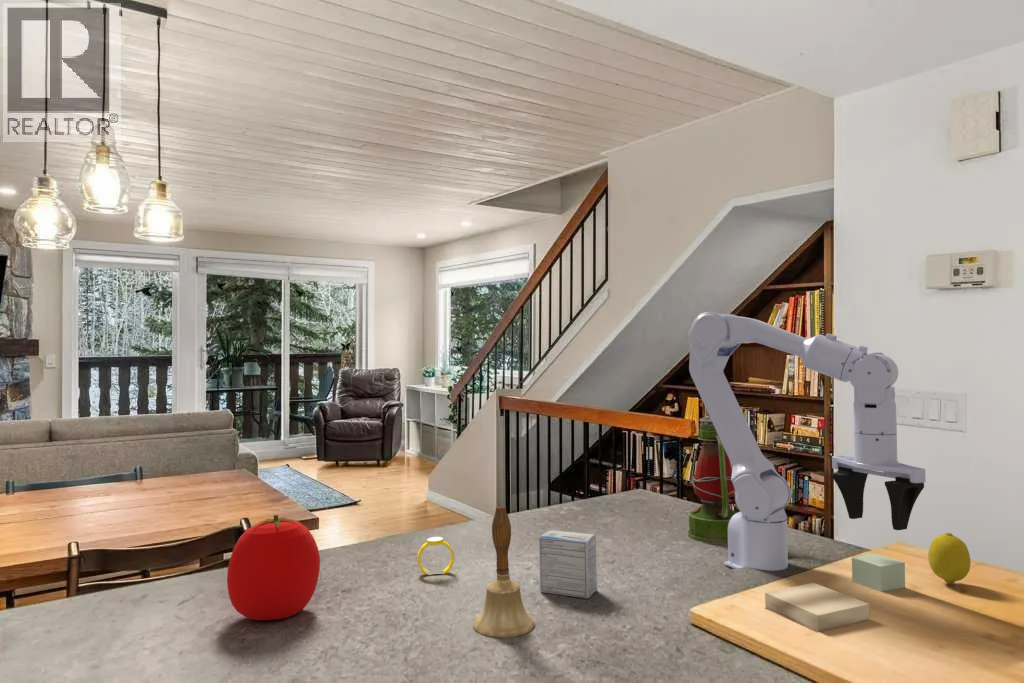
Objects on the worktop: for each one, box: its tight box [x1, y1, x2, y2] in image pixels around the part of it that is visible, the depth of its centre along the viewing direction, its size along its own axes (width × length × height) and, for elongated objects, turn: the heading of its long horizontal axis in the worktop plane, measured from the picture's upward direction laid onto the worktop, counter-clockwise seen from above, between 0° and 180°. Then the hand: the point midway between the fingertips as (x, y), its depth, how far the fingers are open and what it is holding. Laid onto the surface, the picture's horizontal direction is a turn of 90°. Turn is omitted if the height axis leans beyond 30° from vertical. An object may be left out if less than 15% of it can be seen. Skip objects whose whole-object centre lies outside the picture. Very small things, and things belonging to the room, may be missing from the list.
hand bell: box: [472, 505, 535, 639], centre depth 93 cm, size 8×8×16 cm
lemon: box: [927, 532, 972, 585], centre depth 107 cm, size 6×6×8 cm
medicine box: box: [538, 529, 598, 599], centre depth 106 cm, size 8×4×9 cm, turn 65°
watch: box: [416, 536, 455, 575], centre depth 115 cm, size 6×3×6 cm, turn 102°
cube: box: [851, 553, 906, 593], centre depth 104 cm, size 5×5×5 cm
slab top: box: [764, 582, 870, 632], centre depth 92 cm, size 9×9×2 cm
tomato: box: [226, 514, 321, 621], centre depth 98 cm, size 13×11×14 cm
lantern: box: [687, 406, 738, 545], centre depth 137 cm, size 14×11×30 cm
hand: (877, 523), depth 104 cm, fingers open, 7 cm apart
